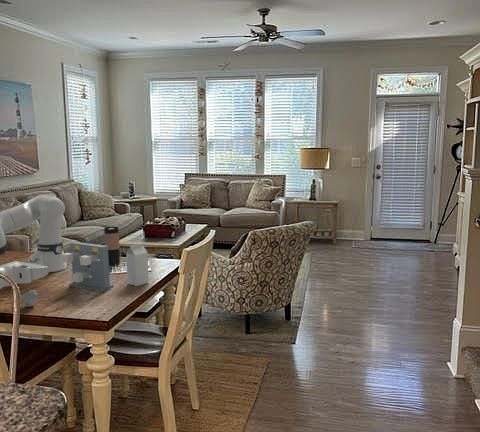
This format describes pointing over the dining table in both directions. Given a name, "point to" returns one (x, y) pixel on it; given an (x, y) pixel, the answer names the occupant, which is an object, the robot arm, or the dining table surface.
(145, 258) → the milk carton
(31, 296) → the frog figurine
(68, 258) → the button top left
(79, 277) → the button bottom
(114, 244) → the travel mug
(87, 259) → the button top right
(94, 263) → the panel
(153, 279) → the dining table surface
